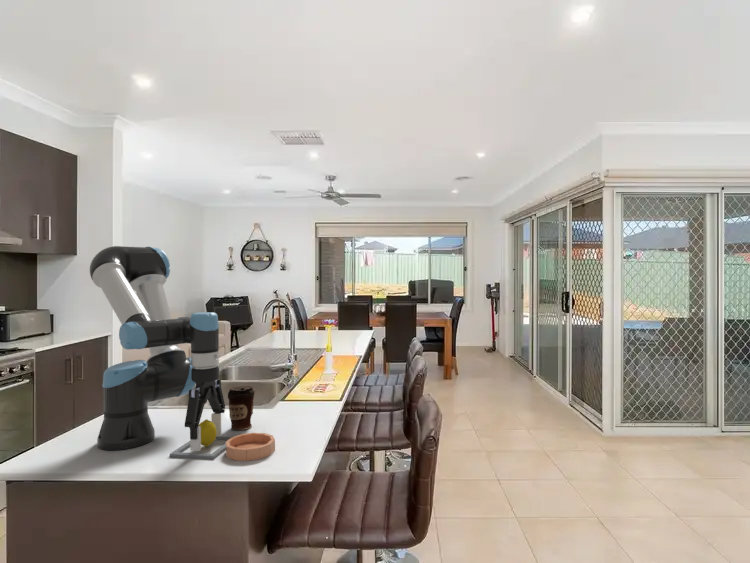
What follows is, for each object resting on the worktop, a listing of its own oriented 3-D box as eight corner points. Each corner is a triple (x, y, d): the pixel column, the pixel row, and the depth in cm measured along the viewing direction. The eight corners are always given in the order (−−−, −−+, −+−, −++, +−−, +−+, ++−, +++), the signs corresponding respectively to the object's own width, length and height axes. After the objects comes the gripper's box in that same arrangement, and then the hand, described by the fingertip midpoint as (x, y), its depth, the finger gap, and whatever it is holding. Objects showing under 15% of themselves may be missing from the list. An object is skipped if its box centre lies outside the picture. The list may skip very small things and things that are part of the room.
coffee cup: (247, 432, 146) (246, 391, 146) (222, 431, 148) (222, 390, 147) (259, 424, 154) (258, 385, 154) (236, 422, 156) (235, 384, 156)
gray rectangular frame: (169, 456, 127) (169, 453, 127) (200, 436, 143) (200, 434, 143) (214, 459, 125) (214, 456, 125) (240, 438, 141) (240, 435, 141)
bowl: (217, 459, 125) (217, 448, 125) (238, 442, 138) (238, 432, 138) (263, 461, 123) (263, 450, 123) (281, 444, 136) (280, 433, 136)
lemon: (199, 444, 137) (199, 416, 136) (219, 443, 137) (218, 416, 137) (193, 451, 131) (193, 422, 131) (213, 450, 131) (213, 422, 131)
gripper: (195, 375, 121) (197, 459, 122) (235, 359, 145) (237, 429, 145) (169, 375, 123) (170, 457, 123) (213, 358, 146) (214, 428, 146)
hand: (206, 442), depth 134 cm, fingers open, 11 cm apart
